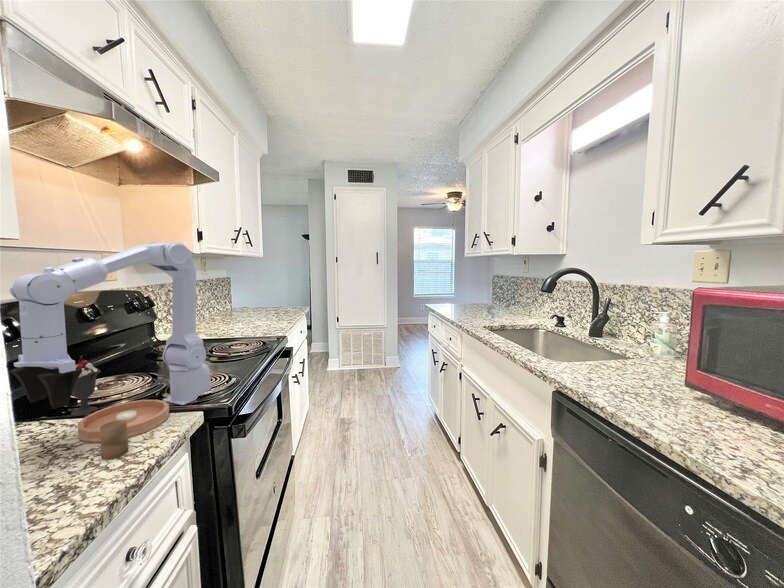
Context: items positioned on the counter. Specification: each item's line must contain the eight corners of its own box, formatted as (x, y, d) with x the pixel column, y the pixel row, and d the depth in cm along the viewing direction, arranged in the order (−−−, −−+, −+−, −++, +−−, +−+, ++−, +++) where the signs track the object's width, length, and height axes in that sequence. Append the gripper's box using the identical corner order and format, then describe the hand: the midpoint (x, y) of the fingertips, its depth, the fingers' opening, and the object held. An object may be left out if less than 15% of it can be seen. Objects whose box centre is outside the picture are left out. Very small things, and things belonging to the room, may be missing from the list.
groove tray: (140, 405, 83) (140, 396, 83) (183, 414, 78) (183, 405, 78) (61, 434, 68) (60, 423, 68) (108, 449, 63) (107, 437, 62)
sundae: (79, 419, 75) (75, 358, 74) (58, 415, 76) (54, 356, 75) (109, 407, 81) (106, 351, 80) (89, 404, 83) (86, 350, 81)
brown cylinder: (120, 446, 64) (118, 418, 63) (133, 450, 62) (131, 422, 62) (96, 457, 60) (94, 427, 60) (109, 461, 59) (108, 431, 58)
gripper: (-8, 336, 58) (-2, 405, 59) (36, 343, 53) (41, 418, 54) (44, 329, 65) (49, 392, 66) (87, 335, 60) (91, 402, 61)
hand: (49, 403), depth 61 cm, fingers open, 7 cm apart
